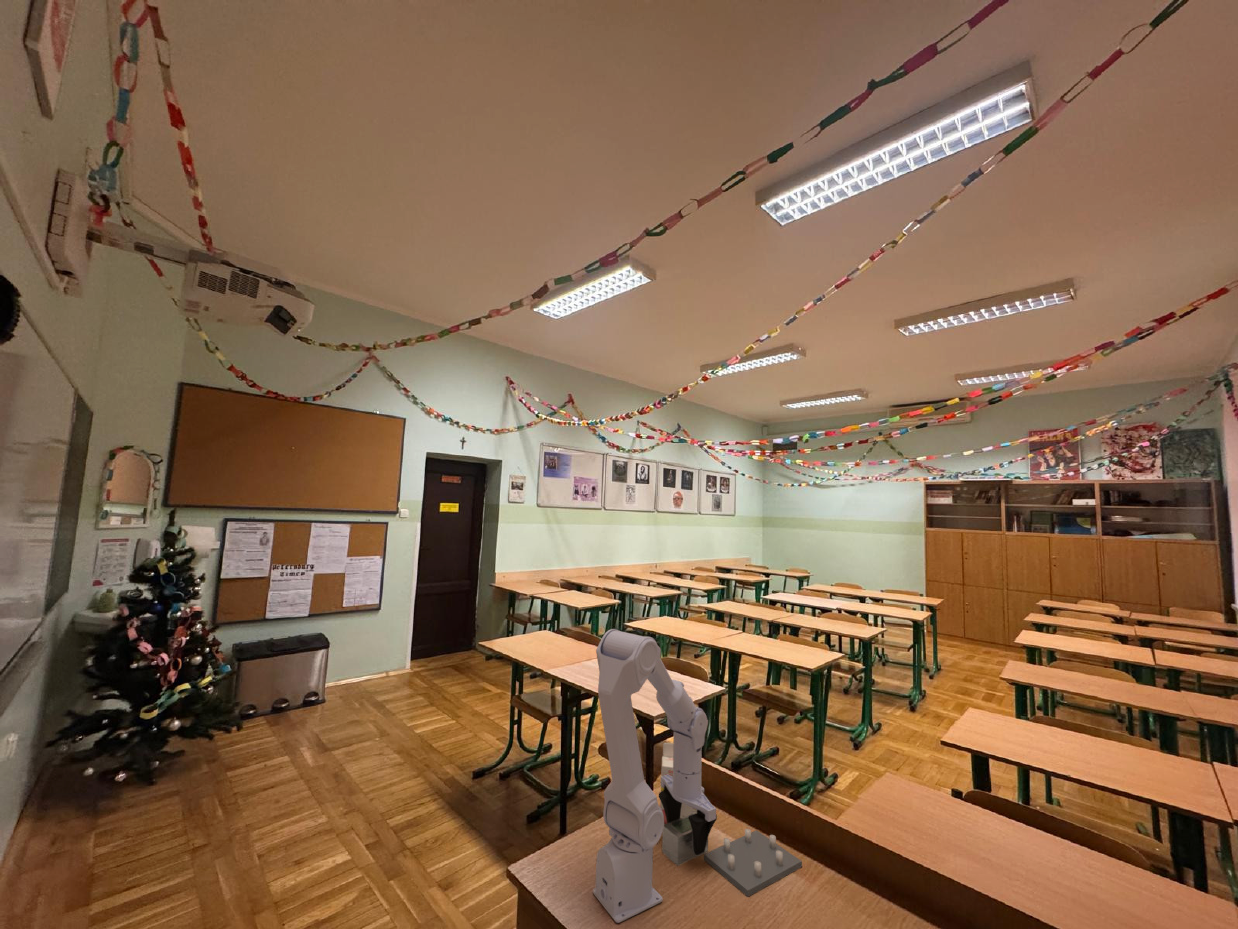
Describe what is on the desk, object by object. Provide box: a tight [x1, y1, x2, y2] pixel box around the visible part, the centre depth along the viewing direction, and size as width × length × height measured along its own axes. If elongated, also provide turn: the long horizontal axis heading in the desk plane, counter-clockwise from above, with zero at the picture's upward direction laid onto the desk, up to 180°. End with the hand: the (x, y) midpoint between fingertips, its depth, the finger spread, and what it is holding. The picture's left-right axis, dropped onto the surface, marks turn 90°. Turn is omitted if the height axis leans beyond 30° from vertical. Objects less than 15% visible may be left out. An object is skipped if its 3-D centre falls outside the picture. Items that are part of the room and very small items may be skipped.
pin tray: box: [703, 828, 803, 898], centre depth 92 cm, size 15×11×3 cm
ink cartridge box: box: [659, 742, 697, 825], centre depth 106 cm, size 9×5×15 cm, turn 84°
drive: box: [661, 814, 709, 867], centre depth 95 cm, size 8×4×5 cm, turn 124°
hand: (686, 841), depth 95 cm, fingers open, 7 cm apart
